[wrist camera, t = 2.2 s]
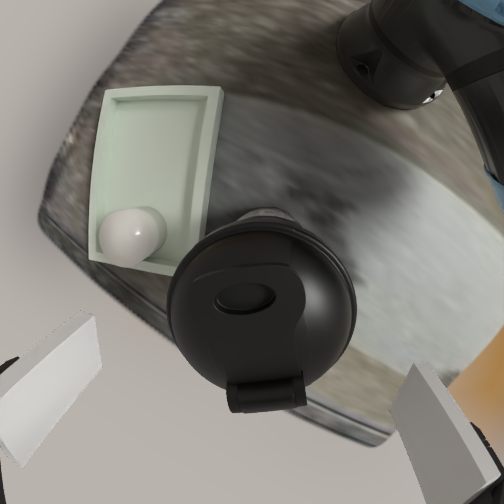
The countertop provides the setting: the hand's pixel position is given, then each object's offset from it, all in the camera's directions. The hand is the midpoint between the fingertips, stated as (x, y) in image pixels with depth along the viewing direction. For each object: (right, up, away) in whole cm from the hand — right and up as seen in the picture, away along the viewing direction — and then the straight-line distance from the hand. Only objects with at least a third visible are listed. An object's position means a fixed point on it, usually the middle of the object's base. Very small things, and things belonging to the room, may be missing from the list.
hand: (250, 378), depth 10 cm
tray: (-12, +14, +22) cm, 29 cm away
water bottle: (+2, +6, +24) cm, 24 cm away
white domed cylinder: (-13, +7, +23) cm, 28 cm away
